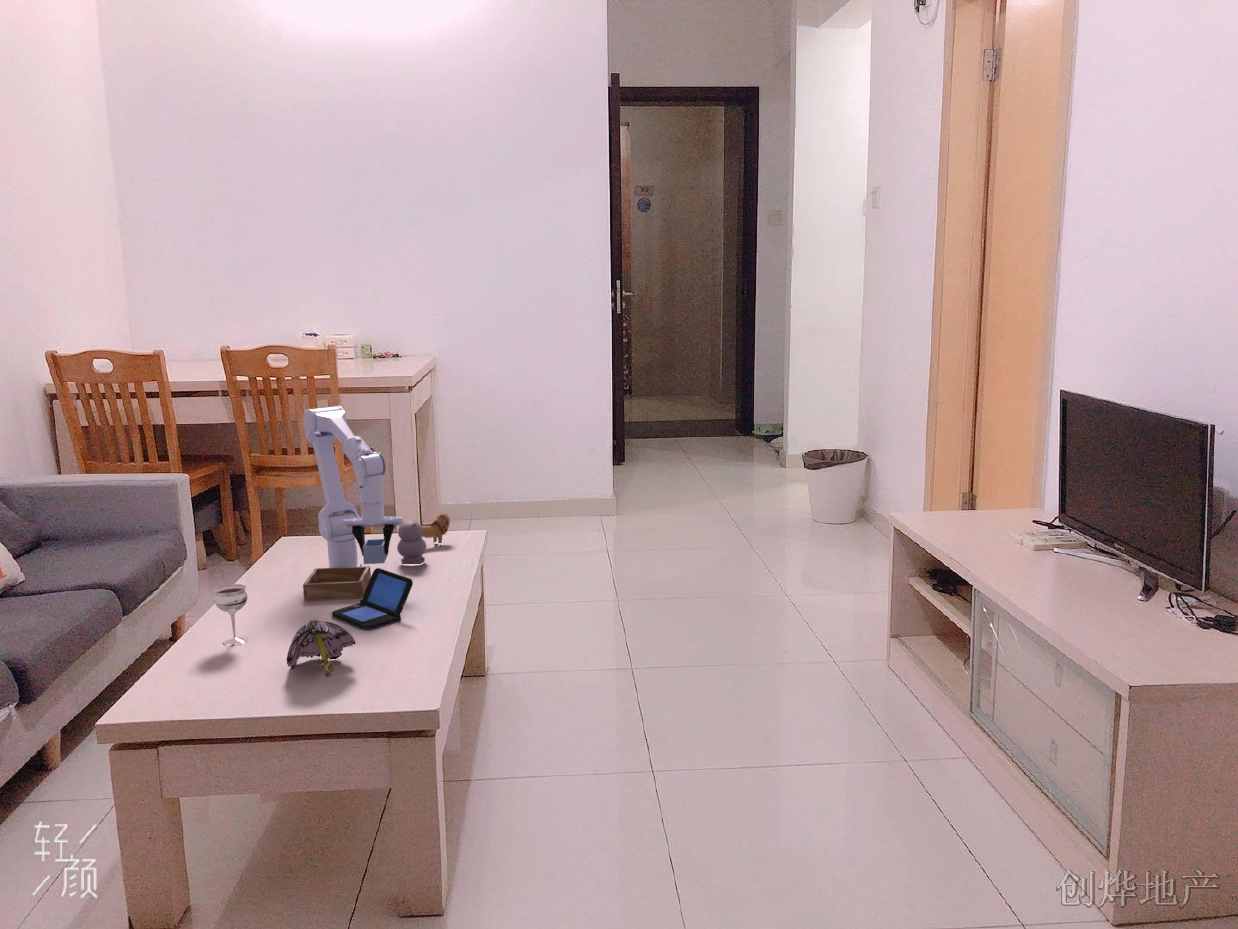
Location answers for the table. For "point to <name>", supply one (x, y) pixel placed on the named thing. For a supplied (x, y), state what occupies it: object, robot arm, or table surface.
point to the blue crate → (374, 551)
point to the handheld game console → (378, 601)
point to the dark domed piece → (319, 643)
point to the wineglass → (231, 604)
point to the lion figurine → (437, 528)
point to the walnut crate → (337, 583)
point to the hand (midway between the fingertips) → (375, 554)
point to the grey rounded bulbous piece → (411, 543)
